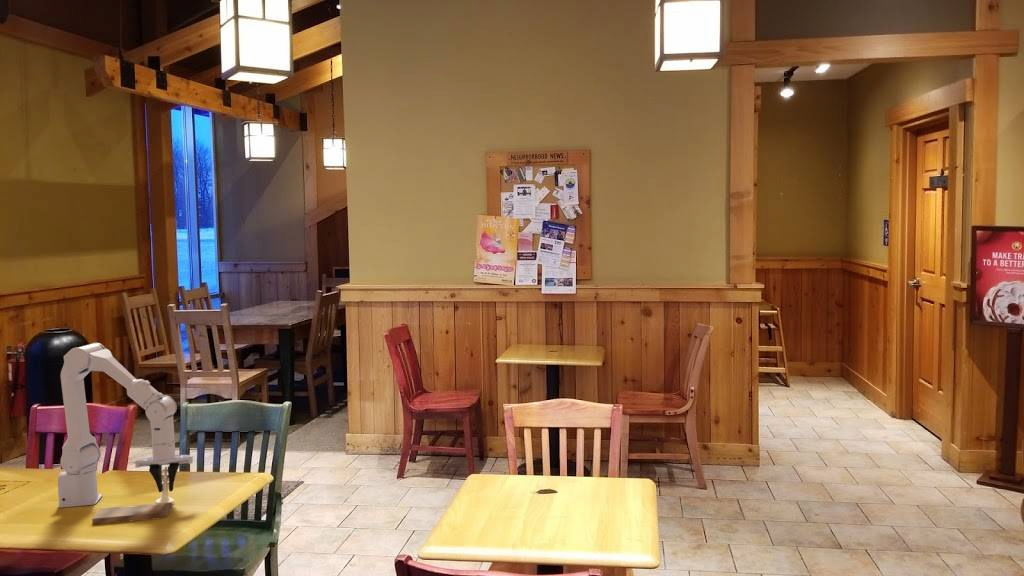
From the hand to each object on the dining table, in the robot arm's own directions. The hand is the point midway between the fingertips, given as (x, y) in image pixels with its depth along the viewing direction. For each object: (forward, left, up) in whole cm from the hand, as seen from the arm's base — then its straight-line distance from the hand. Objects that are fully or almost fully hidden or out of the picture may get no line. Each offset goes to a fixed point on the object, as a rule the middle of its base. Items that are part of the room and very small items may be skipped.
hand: (166, 490), depth 237 cm
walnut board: (-7, -8, -4) cm, 11 cm away
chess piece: (0, 0, -4) cm, 4 cm away
